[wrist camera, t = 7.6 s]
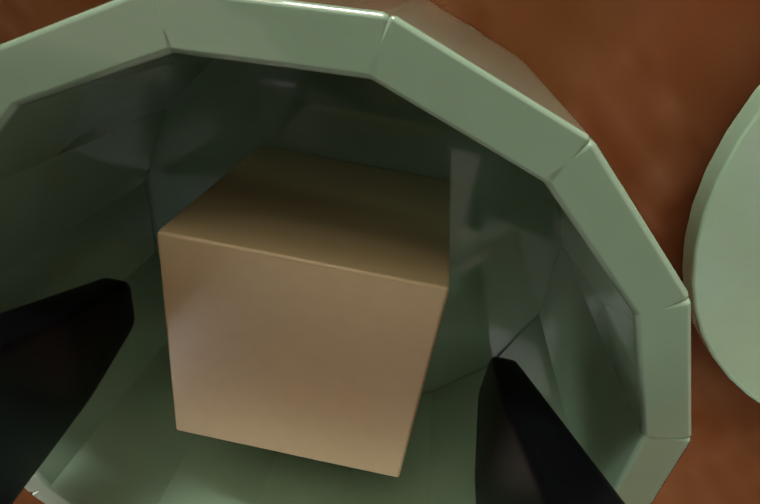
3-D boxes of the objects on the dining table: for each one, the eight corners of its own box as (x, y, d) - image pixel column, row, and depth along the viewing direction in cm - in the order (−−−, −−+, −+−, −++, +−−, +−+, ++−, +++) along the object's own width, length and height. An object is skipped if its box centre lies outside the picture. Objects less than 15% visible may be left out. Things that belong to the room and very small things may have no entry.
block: (415, 333, 13) (399, 479, 9) (255, 300, 13) (175, 431, 9) (451, 180, 11) (449, 289, 7) (258, 144, 11) (154, 230, 7)
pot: (424, 448, 16) (410, 676, 11) (99, 289, 14) (-102, 464, 9) (693, 165, 10) (934, 348, 5) (216, -135, 9) (-117, -301, 4)
